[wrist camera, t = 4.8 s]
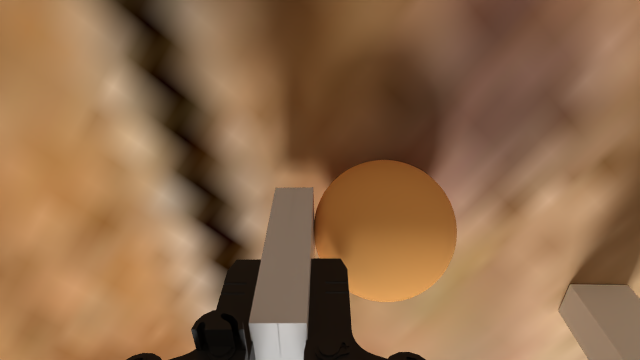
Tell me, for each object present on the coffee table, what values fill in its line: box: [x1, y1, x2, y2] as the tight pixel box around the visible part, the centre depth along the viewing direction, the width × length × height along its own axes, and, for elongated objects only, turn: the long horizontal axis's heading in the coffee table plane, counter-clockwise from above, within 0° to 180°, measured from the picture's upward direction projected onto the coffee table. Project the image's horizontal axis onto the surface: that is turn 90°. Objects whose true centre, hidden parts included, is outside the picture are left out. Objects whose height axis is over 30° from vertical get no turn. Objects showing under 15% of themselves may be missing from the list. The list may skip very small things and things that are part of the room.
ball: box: [314, 160, 457, 302], centre depth 16 cm, size 6×6×6 cm
